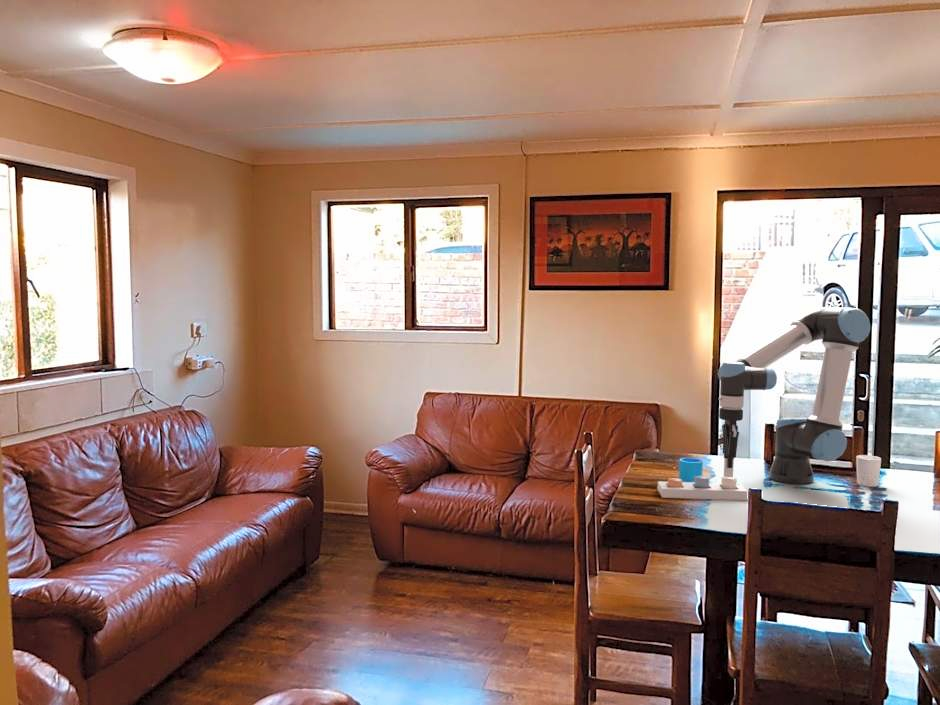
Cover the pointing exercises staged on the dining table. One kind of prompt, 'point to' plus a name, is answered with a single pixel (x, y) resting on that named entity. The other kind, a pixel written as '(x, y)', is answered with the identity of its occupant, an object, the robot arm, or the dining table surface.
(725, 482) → the button cream
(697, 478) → the button slate
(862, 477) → the white cup
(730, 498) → the button panel
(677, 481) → the button terracotta
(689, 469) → the mug
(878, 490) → the dining table surface
